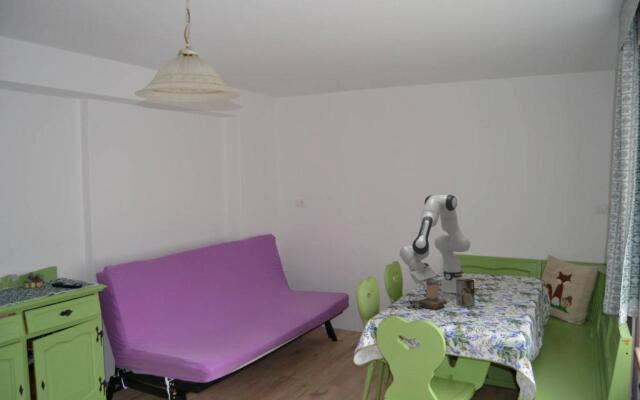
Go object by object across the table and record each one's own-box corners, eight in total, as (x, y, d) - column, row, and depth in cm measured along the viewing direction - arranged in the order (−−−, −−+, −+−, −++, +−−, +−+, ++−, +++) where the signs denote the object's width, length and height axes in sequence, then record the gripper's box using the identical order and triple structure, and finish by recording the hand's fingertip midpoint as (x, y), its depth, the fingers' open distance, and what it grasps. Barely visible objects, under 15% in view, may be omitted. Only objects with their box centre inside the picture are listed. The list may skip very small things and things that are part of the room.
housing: (430, 299, 311) (430, 279, 310) (438, 300, 307) (437, 280, 307) (426, 300, 307) (426, 281, 307) (433, 301, 303) (433, 282, 303)
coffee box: (469, 303, 314) (468, 278, 314) (474, 305, 308) (474, 279, 308) (456, 304, 312) (455, 279, 311) (461, 307, 306) (461, 280, 305)
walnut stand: (429, 303, 316) (429, 297, 315) (446, 306, 307) (446, 300, 307) (418, 307, 307) (418, 300, 307) (435, 310, 299) (435, 303, 298)
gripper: (411, 267, 304) (425, 285, 298) (429, 263, 319) (443, 280, 312) (405, 274, 308) (419, 292, 301) (423, 269, 322) (437, 286, 316)
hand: (431, 286), depth 307 cm, fingers open, 8 cm apart
